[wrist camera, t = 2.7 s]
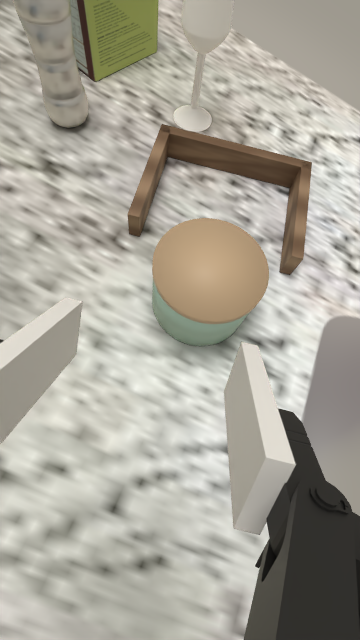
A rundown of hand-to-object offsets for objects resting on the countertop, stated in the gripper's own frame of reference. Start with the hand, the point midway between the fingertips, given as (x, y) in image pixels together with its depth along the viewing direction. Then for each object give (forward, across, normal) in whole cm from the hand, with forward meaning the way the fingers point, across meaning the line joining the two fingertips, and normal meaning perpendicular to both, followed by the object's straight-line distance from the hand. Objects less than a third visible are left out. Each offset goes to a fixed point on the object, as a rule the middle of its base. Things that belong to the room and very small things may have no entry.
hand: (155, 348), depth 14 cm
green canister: (+26, +3, -6) cm, 27 cm away
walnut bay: (+37, +3, +5) cm, 37 cm away
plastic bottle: (+45, -24, +12) cm, 52 cm away
